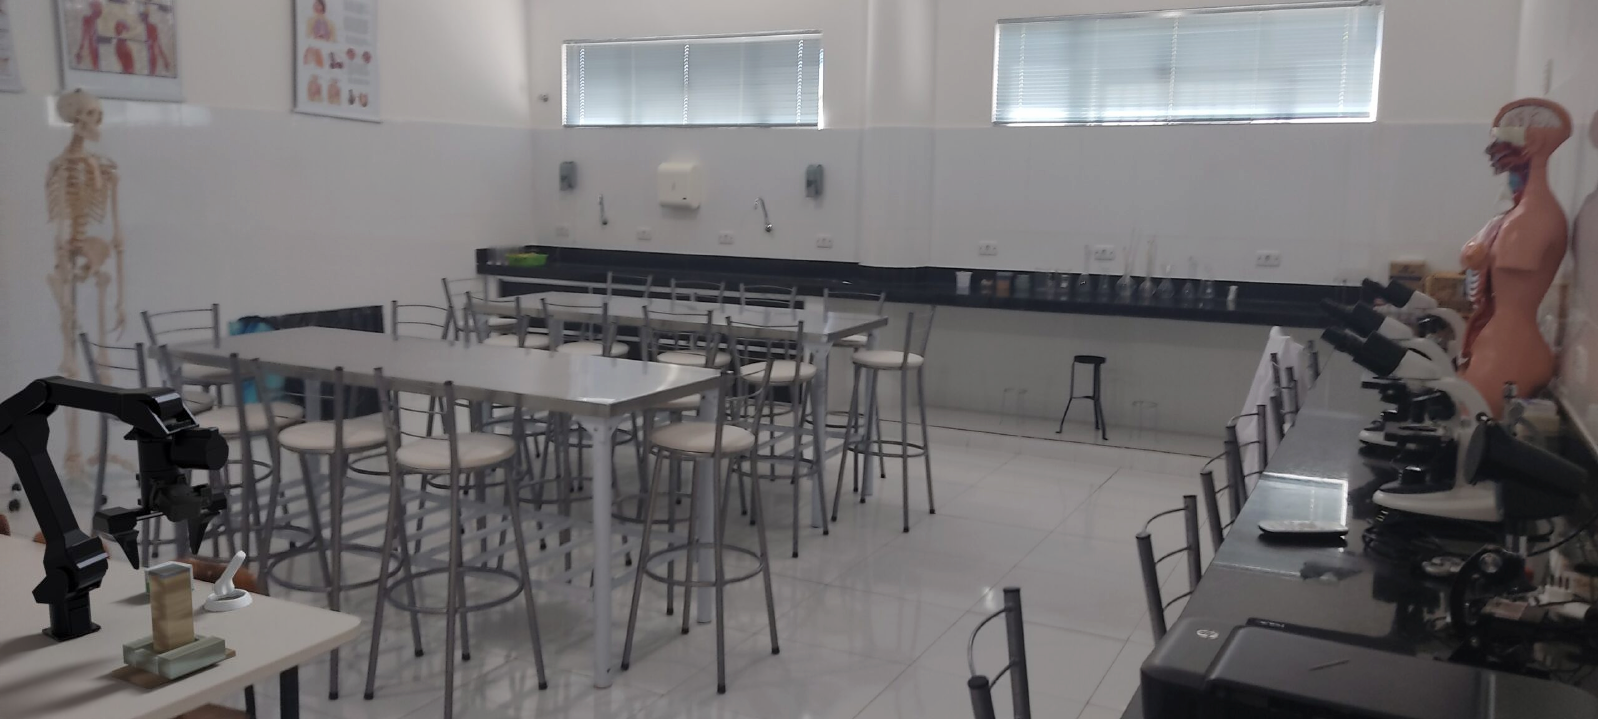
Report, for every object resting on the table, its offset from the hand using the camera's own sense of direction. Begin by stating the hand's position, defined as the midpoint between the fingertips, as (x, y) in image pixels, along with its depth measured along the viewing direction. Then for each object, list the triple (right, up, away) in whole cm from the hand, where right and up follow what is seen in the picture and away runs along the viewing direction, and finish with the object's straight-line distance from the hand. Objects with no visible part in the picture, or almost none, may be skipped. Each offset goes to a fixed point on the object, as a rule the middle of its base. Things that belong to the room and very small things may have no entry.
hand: (166, 561), depth 182 cm
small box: (-12, -10, +23) cm, 28 cm away
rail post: (+6, -14, -8) cm, 17 cm away
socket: (+6, -14, -8) cm, 18 cm away
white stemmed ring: (+1, -11, +18) cm, 21 cm away
